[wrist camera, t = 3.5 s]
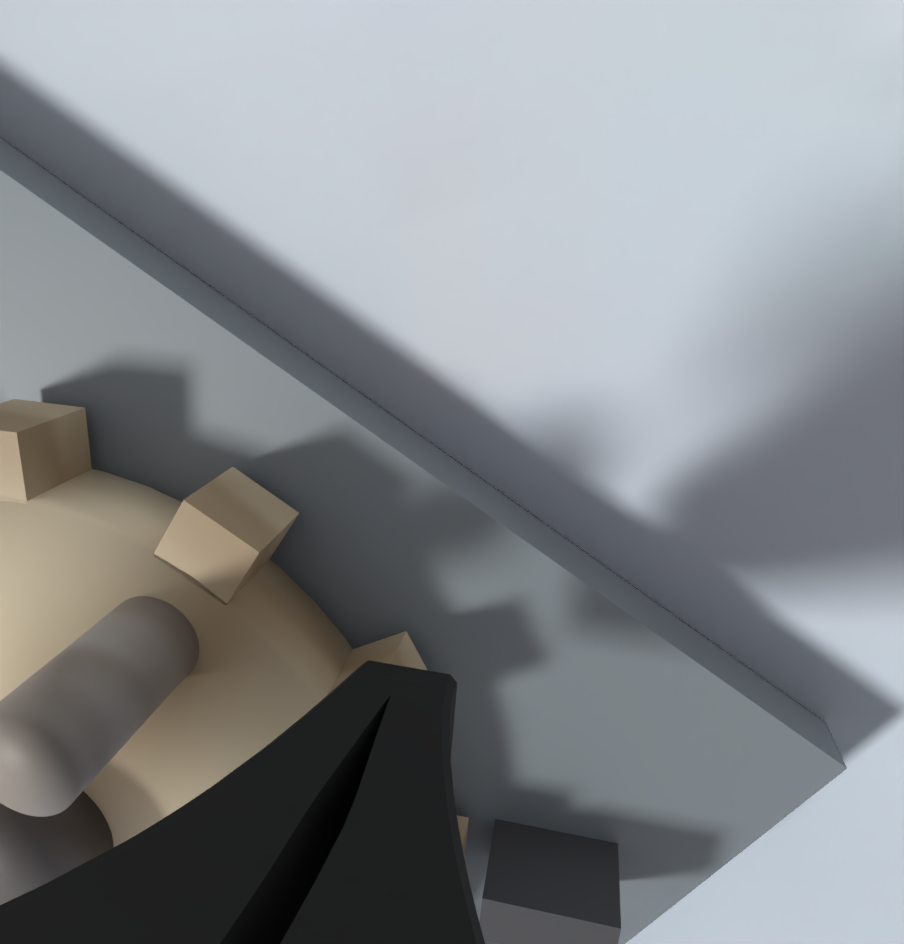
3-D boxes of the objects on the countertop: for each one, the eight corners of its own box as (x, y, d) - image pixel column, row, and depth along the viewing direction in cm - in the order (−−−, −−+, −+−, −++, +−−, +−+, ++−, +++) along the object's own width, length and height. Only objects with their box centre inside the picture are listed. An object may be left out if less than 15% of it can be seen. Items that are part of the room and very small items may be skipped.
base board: (826, 723, 14) (885, 853, 11) (319, 1146, 21) (276, 1287, 18) (-163, 22, 13) (-377, -34, 10) (-326, 722, 20) (-474, 803, 17)
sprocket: (642, 752, 13) (666, 1020, 8) (242, 1125, 19) (138, 1391, 14) (-131, 213, 12) (-525, 208, 8) (-288, 778, 18) (-559, 951, 14)
